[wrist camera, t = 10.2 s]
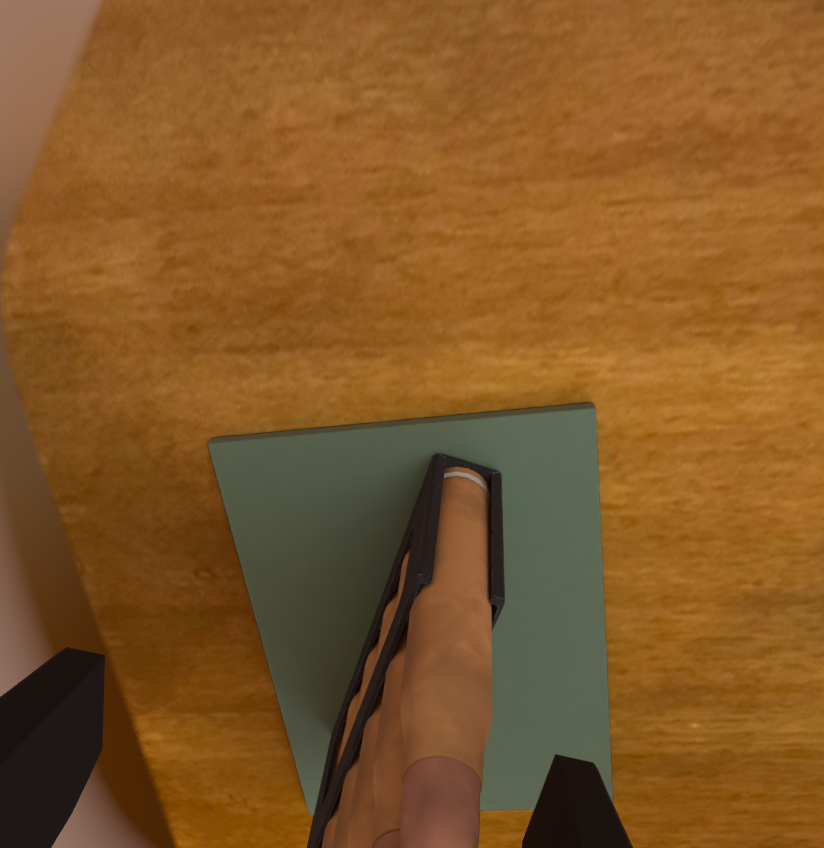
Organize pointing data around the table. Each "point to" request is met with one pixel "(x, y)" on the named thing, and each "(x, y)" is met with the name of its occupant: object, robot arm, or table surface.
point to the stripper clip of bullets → (422, 679)
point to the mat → (375, 554)
